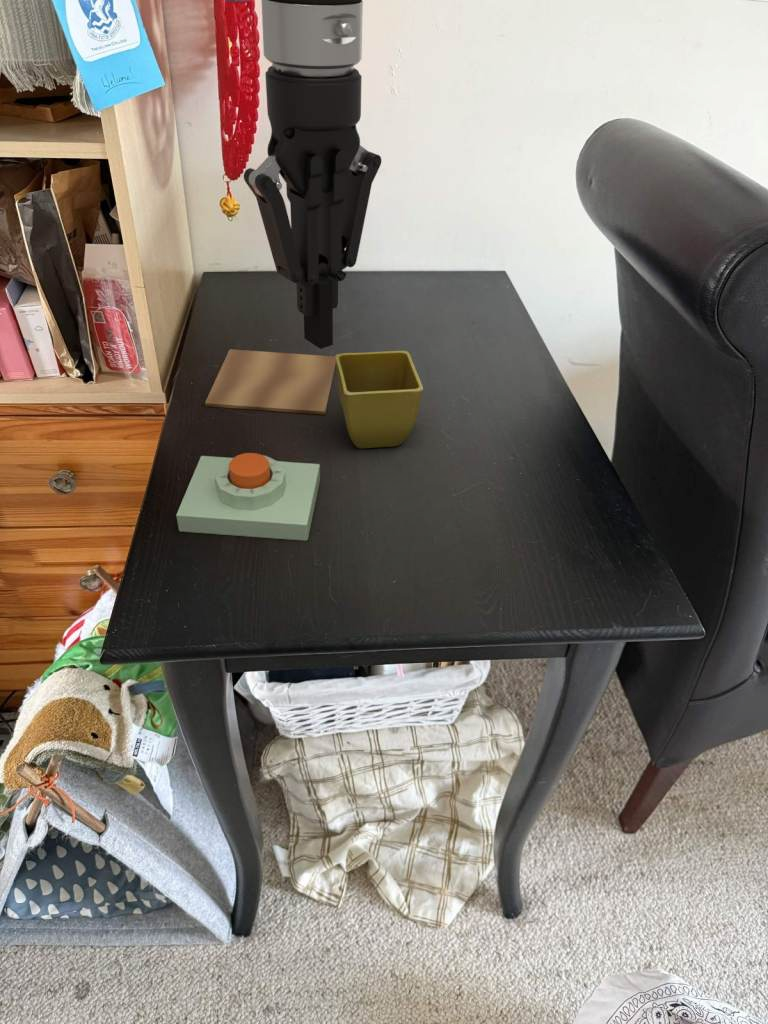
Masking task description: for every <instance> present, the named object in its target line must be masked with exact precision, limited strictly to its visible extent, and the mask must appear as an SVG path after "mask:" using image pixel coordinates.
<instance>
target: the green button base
mask: <svg viewBox="0 0 768 1024" xmlns="http://www.w3.org/2000/svg"><path fill="white" fill-rule="evenodd" d="M262 455H263V454H262ZM263 456H264V457H266V458H267V459H268V461H269V468H270V479H269V481H268V483H267V484H265V485H264V486H261V487H257V488H254V489H243V488H238V487H236V486H234V485H233V484H232V482H231V479H230V471H229V463H230V461H231V460H232V459H233V458H234V457H224V456H211V455H201V456H200V457H199V460H198V462H197V465H196V467H195V469H194V472H193V474H192V477H191V479H190V481H189V484H188V486H187V489H186V491H185V493H184V496H183V498H182V500H181V503H180V505H179V507H178V510H177V513H176V515H175V516H176V517H175V518H176V522H177V527H178V532H181V533H182V532H184V533H194V534H195V533H196V534H209V535H220V536H221V535H223V536H236V537H237V536H238V537H251V538H263V539H278V540H289V541H291V540H293V541H302V542H303V541H305V542H308V541H309V536H310V532H311V527H312V520H313V516H314V511H315V506H316V503H317V497H318V492H319V487H320V481H321V465H320V463H307V462H294V461H293V462H292V461H291V462H290V461H281V460H280V461H279V460H276V459H273V458H272V457H270V456H267V455H265V454H264V455H263Z"/></svg>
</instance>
